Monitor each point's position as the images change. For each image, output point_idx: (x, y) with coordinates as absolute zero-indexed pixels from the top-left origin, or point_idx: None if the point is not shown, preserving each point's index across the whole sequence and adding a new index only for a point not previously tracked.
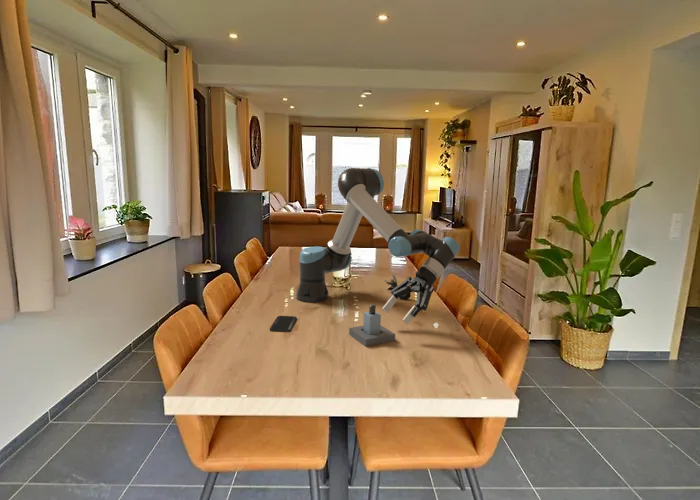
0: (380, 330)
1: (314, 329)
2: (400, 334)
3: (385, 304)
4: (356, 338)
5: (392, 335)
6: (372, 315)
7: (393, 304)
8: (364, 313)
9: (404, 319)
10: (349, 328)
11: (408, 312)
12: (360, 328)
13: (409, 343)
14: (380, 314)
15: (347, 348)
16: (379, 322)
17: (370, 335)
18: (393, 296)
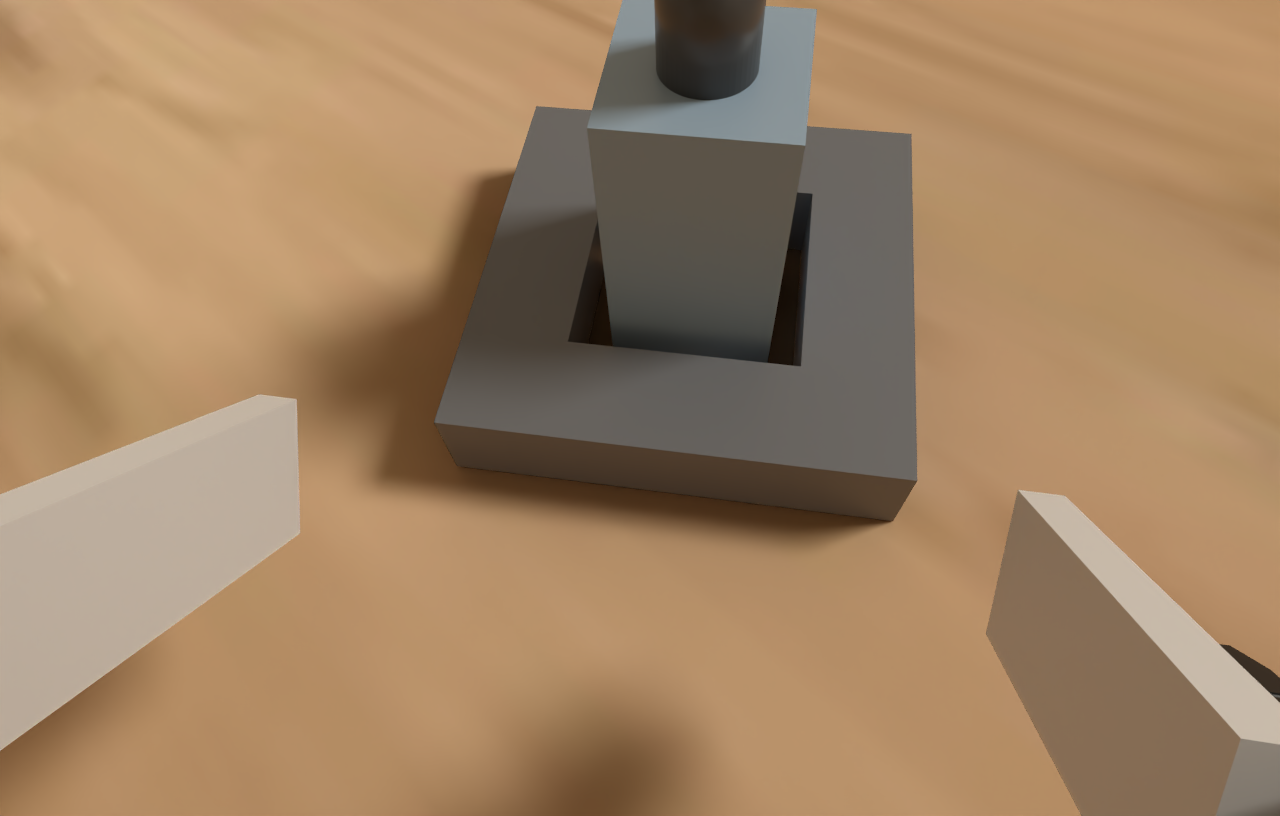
0: (648, 350)
1: (1161, 39)
2: (561, 676)
3: (1098, 539)
4: None
5: (450, 393)
6: (633, 33)
7: (1076, 785)
8: (794, 16)
9: (245, 401)
10: (901, 134)
11: (164, 451)
12: (836, 210)
13: (274, 556)
14: (594, 128)
15: None
16: (602, 213)
17: (592, 186)
18: (1224, 737)
